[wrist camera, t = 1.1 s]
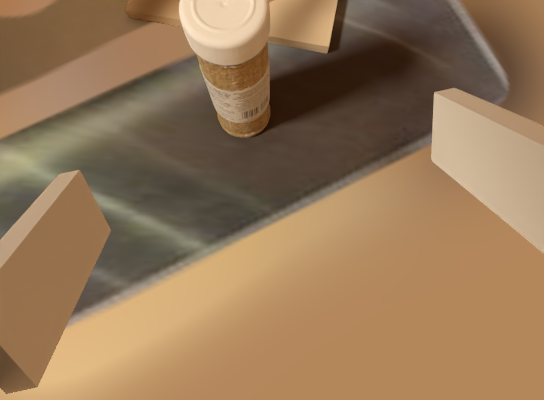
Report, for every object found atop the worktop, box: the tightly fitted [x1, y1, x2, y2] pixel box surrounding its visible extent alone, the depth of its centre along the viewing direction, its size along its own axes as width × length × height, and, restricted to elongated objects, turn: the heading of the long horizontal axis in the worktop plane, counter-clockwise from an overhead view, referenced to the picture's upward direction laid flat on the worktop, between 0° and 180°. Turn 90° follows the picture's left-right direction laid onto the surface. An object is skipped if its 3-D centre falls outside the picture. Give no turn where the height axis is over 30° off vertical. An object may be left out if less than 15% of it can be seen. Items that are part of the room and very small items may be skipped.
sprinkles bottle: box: [179, 0, 270, 138], centre depth 24 cm, size 5×5×13 cm
